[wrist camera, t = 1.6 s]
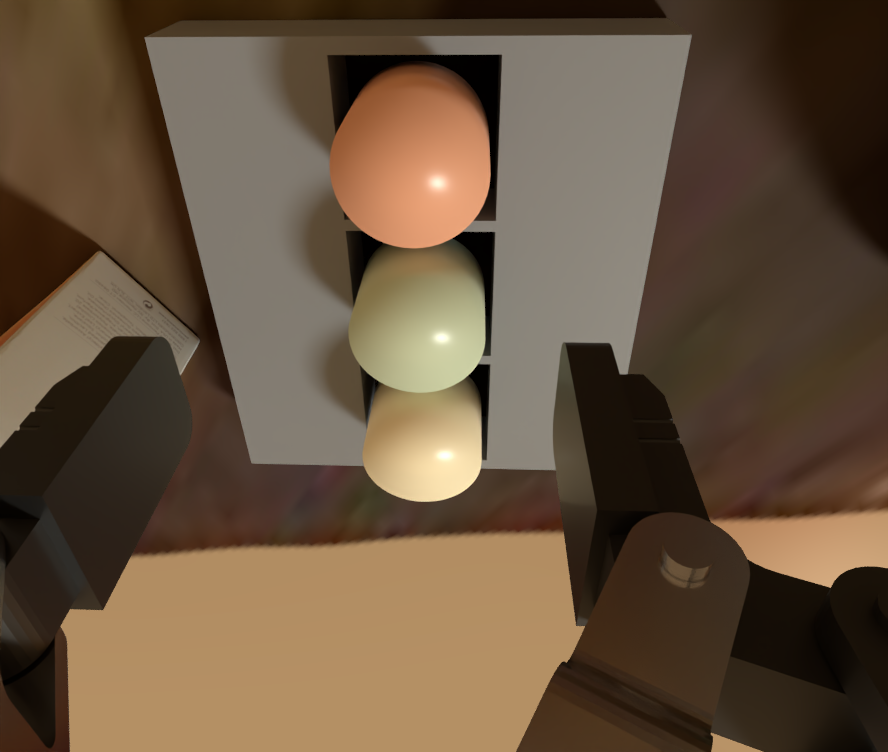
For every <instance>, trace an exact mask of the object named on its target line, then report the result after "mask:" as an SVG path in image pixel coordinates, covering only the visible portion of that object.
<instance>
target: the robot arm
mask: <svg viewBox="0 0 888 752" xmlns="http://www.w3.org/2000/svg"><path fill="white" fill-rule="evenodd" d="M19 427H20V429H19V430H15V431H14V432H13V434H12V435H11V436H10V437H9V438H8V439H7V441H6V442H5V443H4V444H3V445H2V447H1V448H0V752H70V738H69V700H68V659H67V640H66V636H65V634H64V632H63V630H62V628H61V627H60V626H61V624H62V622H63V620H64V618H65V617H66V615H67V613H68V612H69V610H70V609H86V610H89V609H90V610H103V609H104V607H105V605H106V603H107V601H108V599H109V597H110V596H111V593H112V592H113V590H114V588H115V586H116V584H117V582H118V580H119V578H120V576H121V574H122V572H123V570H124V568H125V567H126V565H127V563H128V561H129V559H130V557H131V555H132V553H133V551H134V549H135V547H136V545H137V543H138V541H139V540H140V538H141V536H142V534H143V532H144V530H145V528H146V526H147V524H148V522H149V520H150V518H151V516H152V514H153V512H154V511H155V509H156V507H157V505H158V503H159V501H160V499H161V497H162V495H163V493H164V491H165V489H166V487H167V485H168V483H169V482H170V480H171V478H172V476H173V474H174V472H175V470H176V468H177V466H178V464H179V462H180V460H181V458H182V456H183V455H184V453H185V451H186V449H187V447H188V444H189V441H190V438H191V432H192V414H191V409H190V405H189V402H188V399H187V396H186V393H185V389H184V386H183V383H182V380H181V376H180V373H179V370H178V367H177V364H176V360H175V357H174V354H173V351H172V348H171V346H170V344H169V342H168V341H167V340H166V339H165V338H164V337H152V336H116V337H113V338H112V339H110V340H109V342H108V343H107V344H106V345H105V346H104V348H103V349H102V350H101V351H100V353H99V354H98V355H97V356H96V358H95V359H94V360H93V361H92V363H91V364H90V365H89V366H82V367H80V368H79V369H77V370H76V371H74V372H73V373H71V374H69V375H68V376H66V377H65V378H63V379H62V380H60V381H59V382H57V383H56V384H54V385H53V386H52V388H51V389H50V390H49V391H48V392H47V393H46V395H45V396H44V397H43V398H42V399H41V401H40V402H39V403H38V404H37V405H36V406H35V412H30V414H29V415H28V416H27V417H26V418H25V419H24V421H23V422H22V423H21V424H20V425H19ZM553 452H554V460H555V468H556V476H557V483H558V491H559V498H560V506H561V514H562V521H563V529H564V536H565V543H566V552H567V559H568V567H569V574H570V582H571V590H572V596H573V605H574V612H575V620H576V626H585V628H584V631H583V633H582V635H581V637H580V639H579V641H578V643H577V646H576V648H575V650H574V652H573V654H572V656H571V658H570V659H569V660H568V662H567V663H566V662H562V663H561V664H560V665H559V667H558V668H557V670H556V671H555V673H554V675H553V676H552V678H551V680H550V682H549V684H548V686H547V688H546V690H545V692H544V694H543V697H542V699H541V701H540V703H539V705H538V707H537V709H536V711H535V713H534V715H533V717H532V719H531V722H530V724H529V726H528V728H527V730H526V732H525V734H524V736H523V738H522V741H521V743H520V745H519V747H518V749H517V751H516V752H711V749H712V743H713V736H711V733H714V734H717V735H720V736H722V737H725V738H728V739H730V740H733V741H736V742H739V743H742V744H744V745H747V746H750V747H752V748H755V749H758V750H761V751H763V752H888V568H881V567H859V568H854V569H851V570H848V571H846V572H844V573H843V574H841V575H840V576H839V577H838V578H837V579H836V580H835V581H834V583H833V585H832V587H831V588H829V587H826V586H822V585H818V584H815V583H812V582H808V581H805V580H801V579H798V578H794V577H790V576H787V575H784V574H780V573H777V572H774V571H771V570H768V569H765V568H763V567H761V566H759V565H756V564H754V563H753V562H751V561H749V560H747V558H746V556H745V554H744V552H743V550H742V549H741V547H740V546H739V545H738V544H737V542H736V541H735V540H734V539H733V538H732V537H731V536H730V535H729V534H727V533H726V532H725V531H724V530H722V529H721V528H719V527H718V526H716V525H714V524H713V523H711V522H710V520H709V517H708V514H707V512H706V509H705V506H704V503H703V501H702V498H701V495H700V492H699V490H698V487H697V484H696V481H695V479H694V476H693V473H692V470H691V468H690V465H689V462H688V459H687V457H686V454H685V451H684V448H683V446H682V444H680V437H679V435H678V432H677V429H676V426H675V424H673V418H672V415H671V413H670V410H669V407H668V404H667V402H666V399H665V396H664V395H663V394H662V393H661V392H660V391H659V390H658V389H657V388H656V387H655V386H654V385H653V384H652V383H651V382H650V381H649V380H648V379H647V378H646V377H645V376H644V375H640V374H620V373H619V370H618V366H617V363H616V359H615V356H614V352H613V349H612V346H611V344H610V343H577V342H563V344H562V347H561V353H560V361H559V371H558V380H557V389H556V398H555V407H554V417H553Z"/></svg>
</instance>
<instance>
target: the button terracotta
mask: <svg viewBox="0 0 888 752" xmlns="http://www.w3.org/2000/svg"><path fill="white" fill-rule="evenodd" d="M329 165H330V177H331V183H332V187H333V190H334V193H335V195H336V198H337V200H338V202H339V204H340V206H341V207H342V209H343V210H344V212H345V213H346V215H347V216H348V217H349V218H350V220H351V221H352V222H353V223H354V224H355V225H356V226H357V227H358V228H360V229H361V230H362V231H364V232H365V233H366V234H368V235H369V236H371V237H373V238H374V239H376V240H379V241H381V242H383V243H386V244H389V245H392V246H397V247H402V248H425V247H431V246H435V245H438V244H441V243H444V242H446V241H448V240H450V239H452V238H454V237H455V236H457V235H458V234H460V233H461V232H462V231H463V230H465V229H466V228H467V227H468V226H469V225H470V224H471V223H472V222H473V221H474V219H475V218H476V216H477V215H478V214H479V212H480V210H481V208H482V207H483V205H484V202H485V200H486V197H487V194H488V190H489V185H490V176H491V172H490V147H489V126H488V120H487V116H486V113H485V109H484V107H483V105H482V103H481V100H480V99H479V97H478V95H477V94H476V92H475V91H474V90H473V88H472V87H471V86H470V85H469V84H468V83H467V82H466V81H465V80H464V79H463V78H462V77H461V76H459V75H458V74H457V73H455V72H454V71H452V70H450V69H448V68H446V67H444V66H441V65H438V64H436V63H431V62H426V61H407V62H402V63H398V64H395V65H392V66H389V67H387V68H385V69H384V70H382V71H380V72H379V73H377V74H376V75H375V76H373V77H372V78H371V79H370V80H369V81H368V82H367V83H366V84H365V85H364V87H363V88H362V89H361V91H360V92H359V94H358V96H357V98H356V99H355V101H354V103H353V104H352V106H351V108H350V110H349V111H348V113H347V115H346V117H345V118H344V120H343V122H342V124H341V126H340V127H339V129H338V131H337V133H336V135H335V138H334V141H333V144H332V148H331V152H330V163H329Z"/></svg>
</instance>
